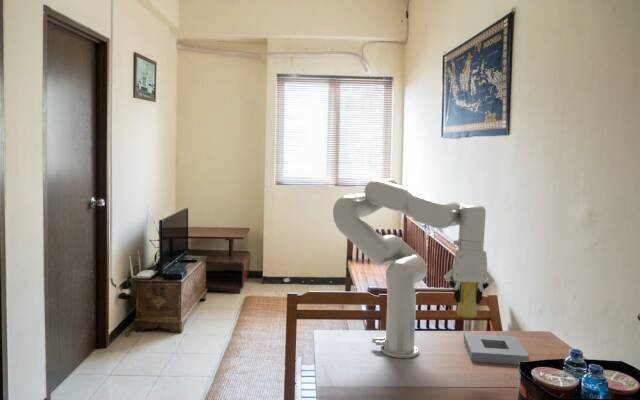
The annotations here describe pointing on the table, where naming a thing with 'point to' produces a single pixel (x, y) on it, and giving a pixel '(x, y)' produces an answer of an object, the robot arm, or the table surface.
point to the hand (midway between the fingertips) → (467, 301)
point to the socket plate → (495, 349)
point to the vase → (467, 299)
